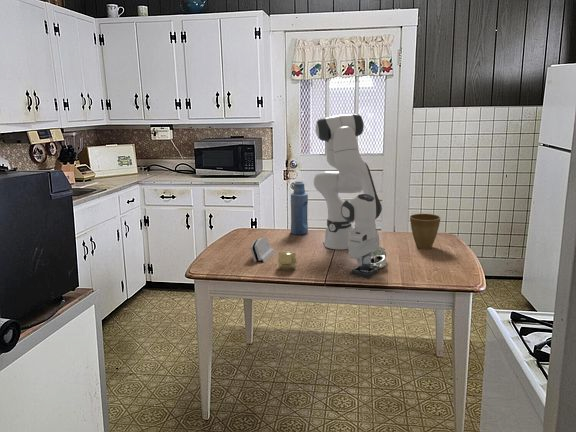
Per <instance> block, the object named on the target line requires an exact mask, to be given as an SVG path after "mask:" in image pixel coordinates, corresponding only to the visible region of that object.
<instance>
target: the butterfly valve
mask: <svg viewBox="0 0 576 432" xmlns="http://www.w3.org/2000/svg"><path fill="white" fill-rule="evenodd" d="M386 265H387V253H386V249H385V248H383V247H382V246H379V248H378V249H376V250H374V251H373V254H372V257H371V264H370V267H373V268H377V270H378V269H382V268H384V267H385V266H386Z"/></svg>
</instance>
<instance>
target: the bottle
mask: <svg viewBox="0 0 576 432" xmlns="http://www.w3.org/2000/svg"><path fill="white" fill-rule="evenodd" d="M308 203H309V194H308V193H307V192H306V189H305V182H304V181H302V180H295V182H294V183H293V192H291V193H290V233H291V234H292V235H295V236H298V235H299V236H300V235H301V236H302V235H306V234H308V233H309V227H308V226H309V225H308V224H309V223H308Z"/></svg>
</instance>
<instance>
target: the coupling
mask: <svg viewBox="0 0 576 432" xmlns="http://www.w3.org/2000/svg"><path fill="white" fill-rule="evenodd" d="M370 258H372V257H371V255H370V254H366V255H364V256H362V259H361V260H362V261H363V265H362V266H359V269H360V270H370V264H371V260H370Z"/></svg>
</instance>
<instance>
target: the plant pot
mask: <svg viewBox="0 0 576 432" xmlns="http://www.w3.org/2000/svg"><path fill="white" fill-rule="evenodd" d="M409 221H410V228H411V233H412V237H413V239H414V243H415V245H416V248H418V249H420V250H421V249H422V250H430V249H431V248H432V247H433V244H435V241H436V238H437V234H438V231H439V228H440V223H441V216H440V215H437V214H432V213H415V214H411V215H410V216H409Z"/></svg>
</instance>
